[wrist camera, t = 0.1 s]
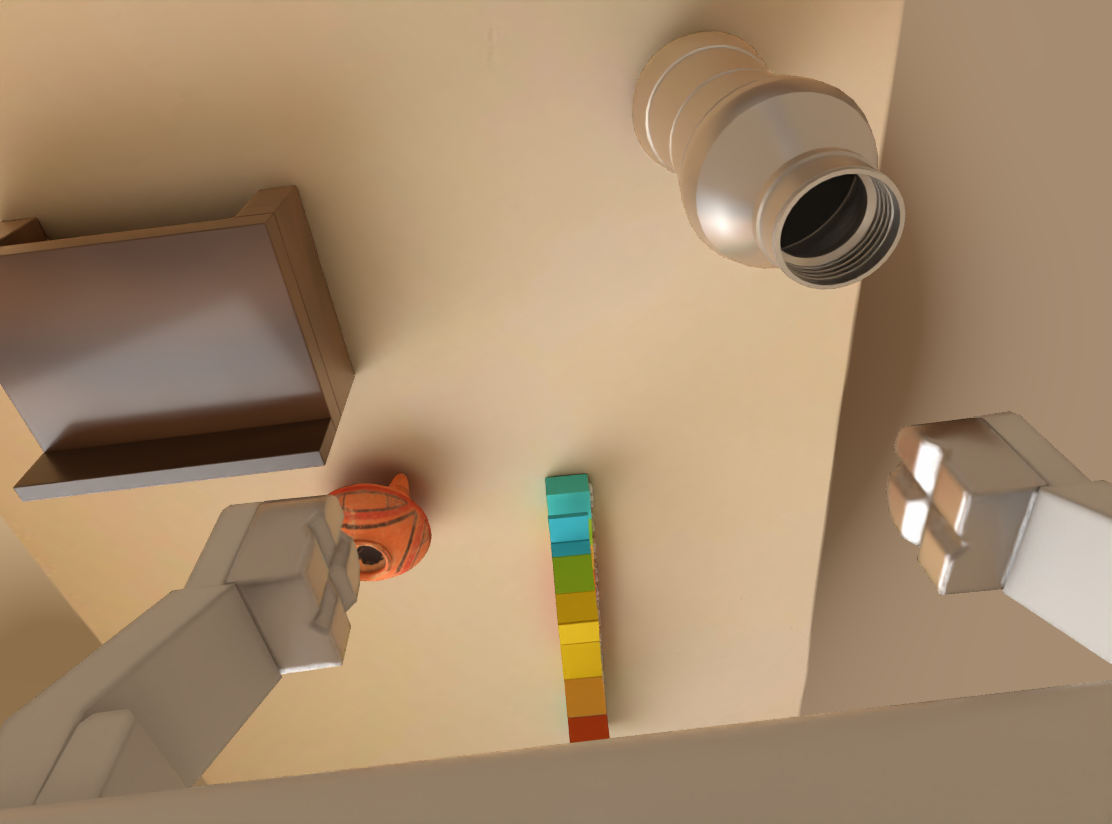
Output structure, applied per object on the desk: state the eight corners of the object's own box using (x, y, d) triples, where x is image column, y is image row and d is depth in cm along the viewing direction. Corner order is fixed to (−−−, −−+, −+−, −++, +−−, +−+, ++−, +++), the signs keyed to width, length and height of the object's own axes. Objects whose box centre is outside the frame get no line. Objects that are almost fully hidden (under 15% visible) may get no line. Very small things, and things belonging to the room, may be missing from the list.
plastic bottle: (752, 151, 39) (940, 318, 22) (627, 168, 39) (720, 347, 22) (757, 15, 35) (986, 92, 18) (619, 35, 35) (722, 129, 18)
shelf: (-1, 221, 38) (-124, 291, 31) (296, 185, 38) (245, 246, 31) (102, 407, 45) (22, 502, 37) (355, 376, 45) (325, 465, 37)
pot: (463, 517, 51) (438, 596, 46) (375, 534, 54) (342, 611, 49) (405, 438, 47) (370, 517, 42) (312, 461, 50) (269, 538, 45)
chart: (606, 725, 67) (628, 905, 55) (572, 728, 67) (587, 910, 55) (590, 472, 50) (618, 651, 38) (545, 477, 50) (558, 657, 38)
